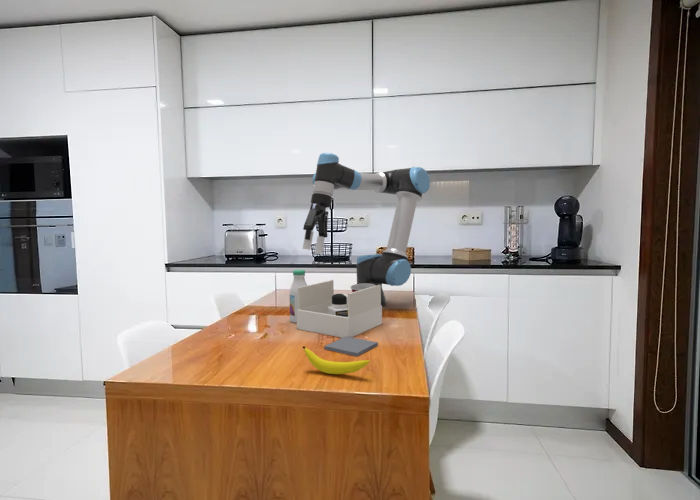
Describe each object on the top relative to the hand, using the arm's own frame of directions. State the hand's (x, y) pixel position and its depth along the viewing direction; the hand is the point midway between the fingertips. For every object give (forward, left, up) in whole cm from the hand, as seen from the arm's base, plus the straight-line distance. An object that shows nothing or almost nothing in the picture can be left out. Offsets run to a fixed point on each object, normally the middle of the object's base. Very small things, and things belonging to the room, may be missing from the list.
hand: (312, 251), depth 147 cm
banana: (+33, +34, -28) cm, 55 cm away
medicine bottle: (-5, +8, -28) cm, 30 cm away
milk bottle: (-3, -10, -28) cm, 30 cm away
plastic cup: (-26, +5, -28) cm, 39 cm away
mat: (+13, +25, -28) cm, 40 cm away
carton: (-5, +8, -28) cm, 30 cm away
